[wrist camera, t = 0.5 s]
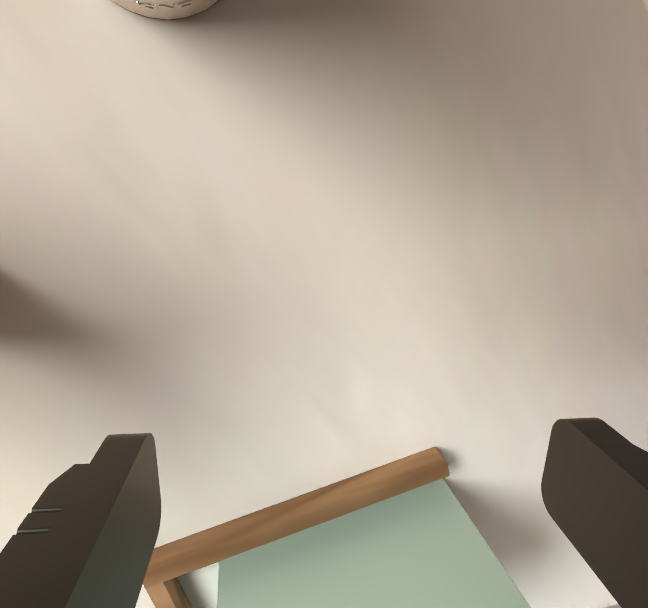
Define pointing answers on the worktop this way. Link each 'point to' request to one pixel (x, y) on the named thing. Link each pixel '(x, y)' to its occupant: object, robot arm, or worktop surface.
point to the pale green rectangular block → (376, 561)
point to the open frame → (284, 522)
